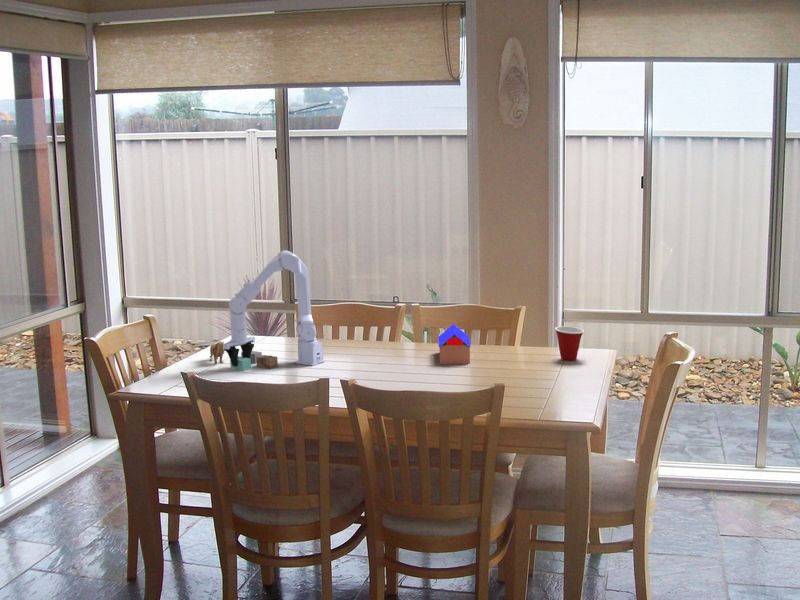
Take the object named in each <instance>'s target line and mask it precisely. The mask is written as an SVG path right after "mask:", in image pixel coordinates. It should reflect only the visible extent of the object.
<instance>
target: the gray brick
mask: <svg viewBox="0 0 800 600" xmlns="http://www.w3.org/2000/svg"><path fill="white" fill-rule="evenodd" d="M262 355H263V352H262V351H255V350H252V351H251V355H250V359H251V365H252V364H254V365H255V364H256V365H257V361H256V357H258V356H262ZM240 357H243V353H242V351H241V352H240Z"/></svg>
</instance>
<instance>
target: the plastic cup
mask: <svg viewBox="0 0 800 600" xmlns="http://www.w3.org/2000/svg"><path fill="white" fill-rule="evenodd" d="M555 332H556V337H557V343H558V350H559V353H560V354H559V356H560V360H562V361H565V362H574V361H576V360H577V357H578V354H579V353H578V352H579V349H580V344H581V339H582V336H583V333H585V330H584V329H582V328H579V327H574V326H565V325H564V326H562V325H561V326H560V325H559V326H556V327H555Z"/></svg>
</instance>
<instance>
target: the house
mask: <svg viewBox="0 0 800 600" xmlns="http://www.w3.org/2000/svg"><path fill="white" fill-rule="evenodd" d="M471 346H472V345H471V342H470V336H469V335H468V334H467V333H466V332H465V331H463V330H462V329H460V328H459V327H458V326H457V325H456V324H454V323H453V324H452V325H451V326H450V327H448V328H447V329H446V330H445V331H443V332H442V333H441V334H440V335H439V336H438V348H439V364H440V365H461V364H466V365H467V364H471V349H470V348H471Z"/></svg>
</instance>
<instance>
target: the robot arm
mask: <svg viewBox="0 0 800 600" xmlns="http://www.w3.org/2000/svg"><path fill="white" fill-rule="evenodd" d="M284 269H286V270H287V271H290V272H292V273H293V274H294V275H295V283H296V297H297V310H298V316H297V317H298V318H297V324H296V333H297V334H298V337H297V339H296V340H297V341H296V343H297V360H294V361H293V364H298V365H306V366H311V365H312V366H316V365H318V364H322V363H325V361H326V360H324V346H323V343H322V342H321V341H318V340H317V329H316V327H315V325H314V319H313V316H312V305H311V303H312V302H311V290H310V289H311V288H310V279H309V278H310V277H309V275H310V274H309V269H308V267H307V266H306V265H305V263H304V262H303V261H302V260H301V258H300V257H299V256H298V255H296V254H295V253H293V252H291V251H289V250H286V249H283V250H281V251H279V252H278V254H277V255H276V256H274V257H272V258H271V260H270V261H269V262H268V263H267V264H266V266H265V267H264V268H263V269H262V270H261V272H260V273H259V274H258V275H257V276H256V278H255V279H254V280H253V281H248V282H247V283H246V282H245V283H243V286H242V288H241V289H240V290H239V291H238V292H237V293H234V297H232V298H230V300H229V303H228V308H229V309H230V314H229V315H230V319H229V321H230V334H231V339H230V341H228V342H224V349H225V350H226V351H225V352H226V354H227V355H228V357H229V361H230V360H231V363H232V366H238V357H239V352H240V348H241V352H242V353H243V357H244V358H249V359H250V355H251V351H253V349H254V347H255V344H254V343H256V338H255V337H254V336H248V334H247V318H246V317H247V316H246V310H247V305H249V304H251V302H253V300H254V299H255V298H256V296H258V294H260V293H261V287H262V285H264V283H266V281H267V280H269V278H271V277H272V276H273V274H274V273H277V272H281V271H283V270H284ZM239 346H240V348H237V347H239Z"/></svg>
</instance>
